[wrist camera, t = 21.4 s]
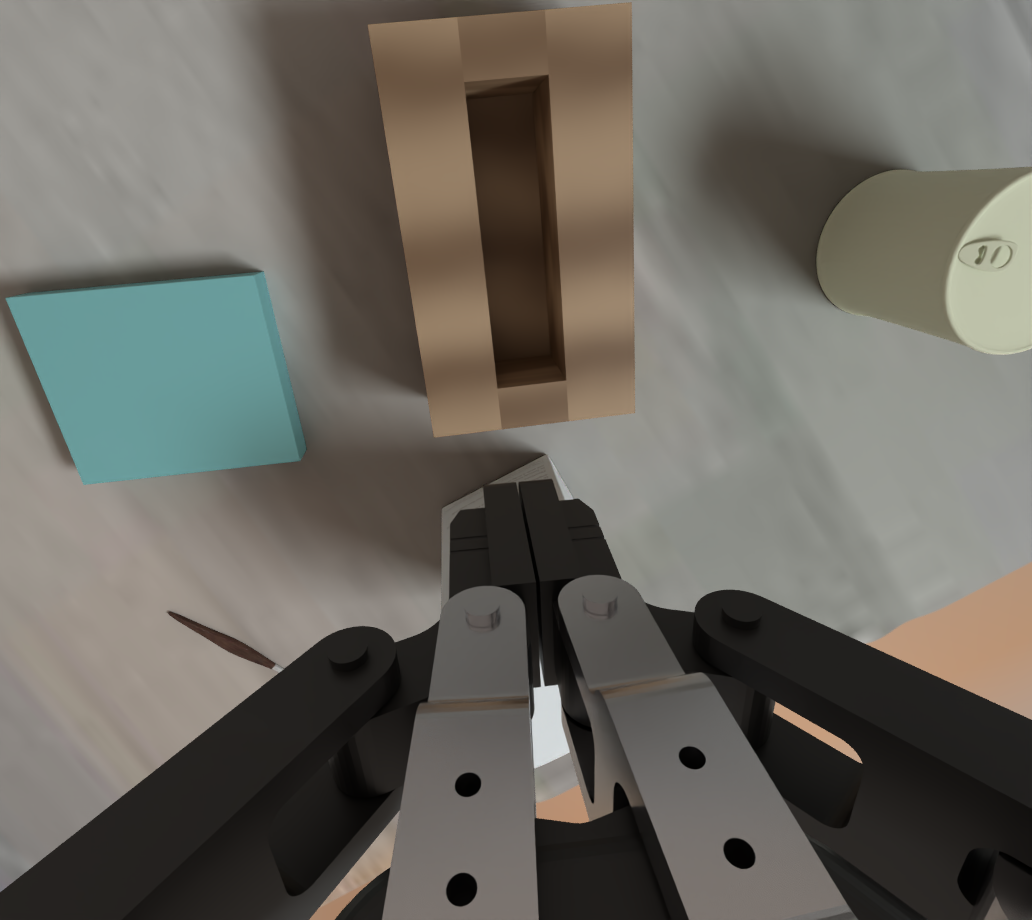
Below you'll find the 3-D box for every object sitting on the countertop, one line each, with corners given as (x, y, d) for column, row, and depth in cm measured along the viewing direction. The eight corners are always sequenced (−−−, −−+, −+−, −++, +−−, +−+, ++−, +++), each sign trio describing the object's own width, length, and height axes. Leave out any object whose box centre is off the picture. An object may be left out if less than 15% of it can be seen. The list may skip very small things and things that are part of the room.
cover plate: (266, 270, 37) (32, 291, 37) (254, 275, 35) (5, 298, 34) (308, 446, 42) (103, 468, 41) (300, 460, 40) (83, 484, 39)
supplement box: (438, 506, 45) (432, 670, 29) (547, 449, 44) (599, 588, 28) (498, 595, 49) (521, 781, 33) (600, 545, 48) (671, 712, 32)
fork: (180, 597, 46) (169, 613, 44) (353, 689, 52) (350, 707, 50) (163, 619, 47) (151, 636, 45) (335, 707, 52) (331, 726, 50)
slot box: (383, 56, 33) (367, 24, 27) (597, 38, 34) (631, 2, 27) (436, 399, 41) (434, 437, 35) (606, 379, 42) (635, 413, 36)
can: (844, 158, 38) (1005, 145, 27) (971, 181, 39) (1174, 178, 28) (796, 306, 41) (921, 347, 30) (914, 323, 43) (1074, 368, 32)
